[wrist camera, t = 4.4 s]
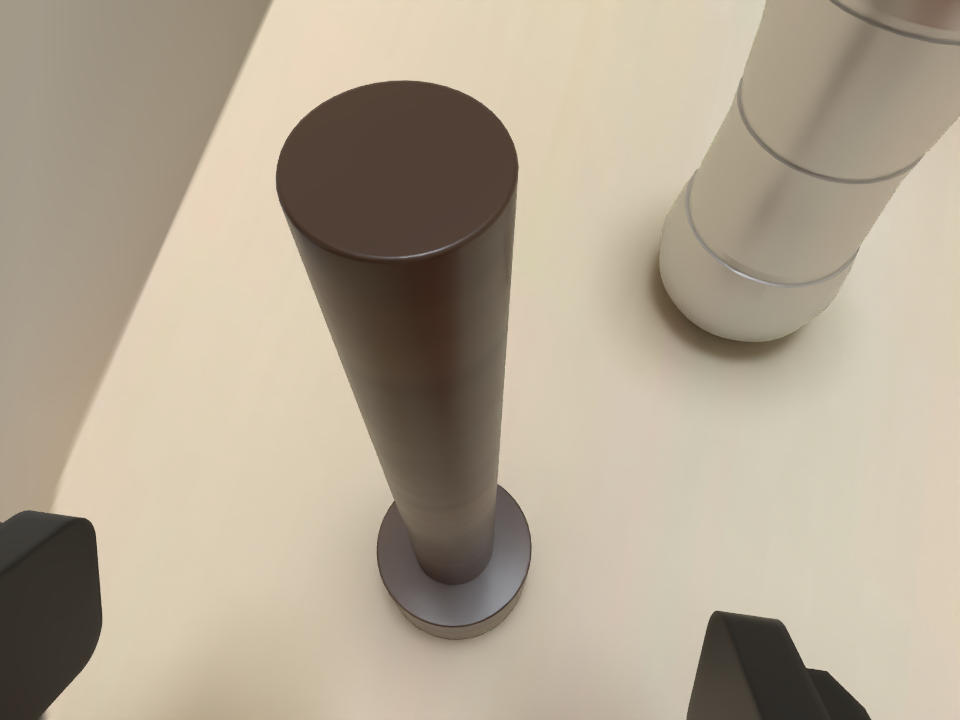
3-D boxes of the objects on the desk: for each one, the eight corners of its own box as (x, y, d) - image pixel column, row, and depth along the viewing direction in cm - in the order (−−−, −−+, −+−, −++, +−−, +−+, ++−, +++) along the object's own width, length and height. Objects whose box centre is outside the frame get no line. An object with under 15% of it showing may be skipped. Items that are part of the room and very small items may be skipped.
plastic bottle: (797, 226, 29) (1312, -580, 11) (826, 370, 25) (1618, -438, 8) (642, 218, 29) (900, -586, 11) (651, 361, 26) (1035, -450, 8)
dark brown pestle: (376, 628, 21) (63, 343, 5) (403, 491, 23) (235, -11, 7) (517, 649, 21) (635, 414, 5) (531, 509, 23) (646, 25, 7)
